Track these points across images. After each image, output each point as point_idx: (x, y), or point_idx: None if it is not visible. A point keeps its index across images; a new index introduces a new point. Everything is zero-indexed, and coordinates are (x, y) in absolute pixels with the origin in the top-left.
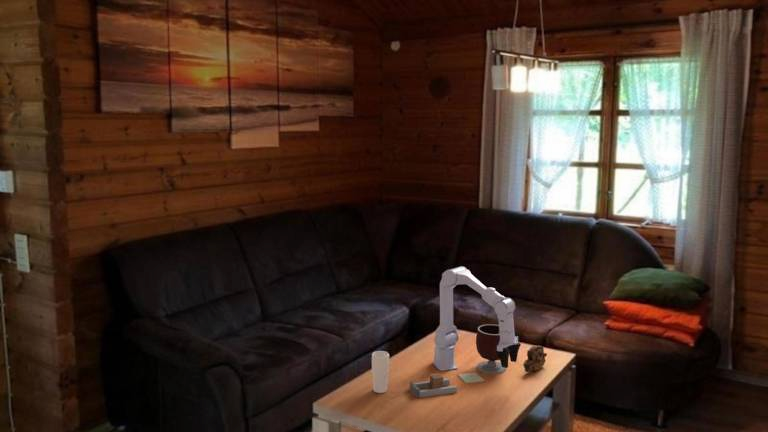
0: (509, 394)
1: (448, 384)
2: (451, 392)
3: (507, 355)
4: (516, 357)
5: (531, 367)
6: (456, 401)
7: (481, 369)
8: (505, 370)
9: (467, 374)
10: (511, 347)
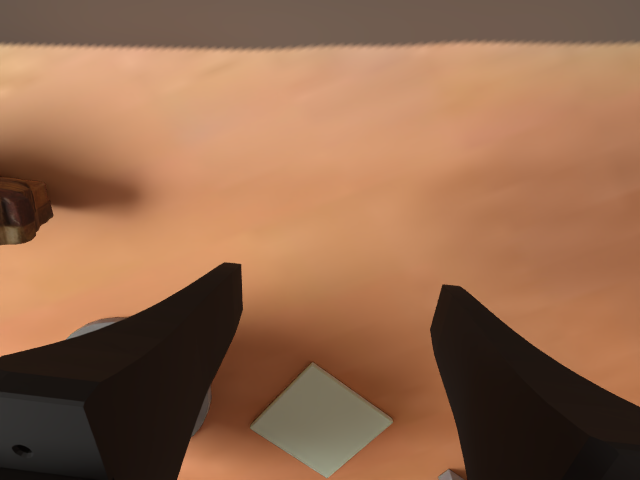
0: (402, 189)
1: (453, 475)
2: None
3: (611, 397)
4: (217, 281)
5: (8, 182)
6: (621, 388)
7: (200, 417)
8: (113, 318)
9: (297, 447)
10: (161, 444)
